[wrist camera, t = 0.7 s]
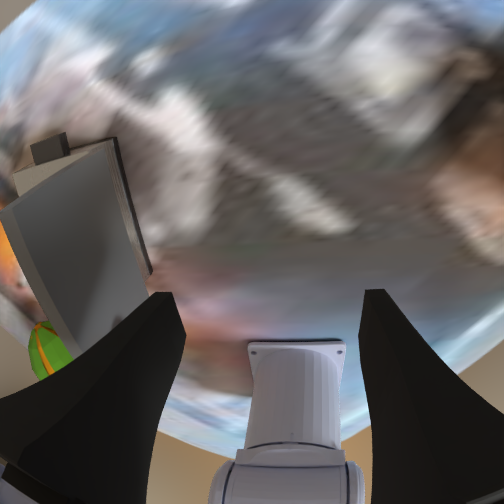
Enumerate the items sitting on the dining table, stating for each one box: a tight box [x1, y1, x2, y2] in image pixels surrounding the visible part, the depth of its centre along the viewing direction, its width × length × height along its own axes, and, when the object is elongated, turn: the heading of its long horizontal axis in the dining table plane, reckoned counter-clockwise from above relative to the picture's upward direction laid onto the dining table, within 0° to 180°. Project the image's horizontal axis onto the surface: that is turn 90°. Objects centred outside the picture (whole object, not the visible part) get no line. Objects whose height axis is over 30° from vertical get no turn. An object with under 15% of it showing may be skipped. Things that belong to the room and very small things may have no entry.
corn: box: [28, 321, 74, 381], centre depth 29 cm, size 7×8×20 cm
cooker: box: [12, 132, 153, 283], centre depth 19 cm, size 13×8×3 cm, turn 6°
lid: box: [0, 148, 149, 359], centre depth 14 cm, size 10×8×2 cm
